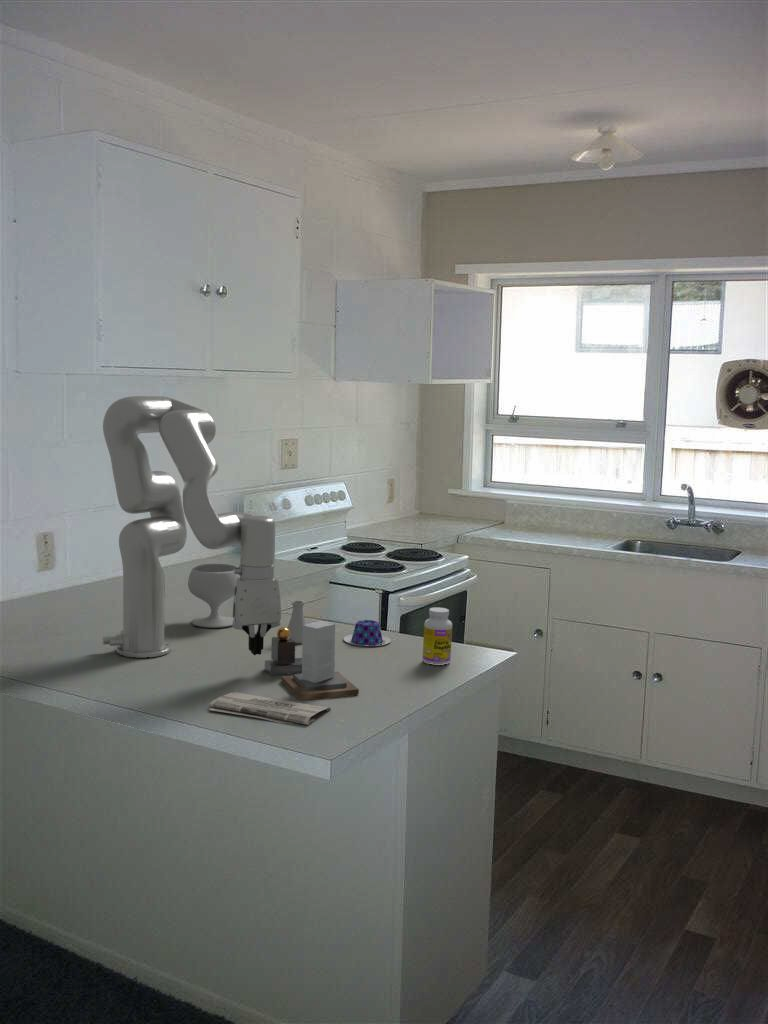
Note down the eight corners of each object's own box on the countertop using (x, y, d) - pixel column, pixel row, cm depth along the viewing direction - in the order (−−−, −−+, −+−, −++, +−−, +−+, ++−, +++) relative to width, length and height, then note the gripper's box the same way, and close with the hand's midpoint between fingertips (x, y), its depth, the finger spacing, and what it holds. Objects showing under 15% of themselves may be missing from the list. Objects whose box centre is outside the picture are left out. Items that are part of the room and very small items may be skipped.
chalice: (227, 615, 277) (228, 561, 275) (249, 626, 266) (250, 570, 264) (179, 620, 270) (179, 565, 268) (200, 632, 258) (200, 574, 256)
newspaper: (204, 714, 199) (204, 701, 199) (235, 702, 211) (236, 690, 211) (307, 732, 191) (308, 719, 191) (334, 719, 202) (334, 707, 202)
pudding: (333, 641, 255) (334, 621, 254) (365, 633, 264) (366, 614, 263) (368, 651, 247) (369, 630, 247) (400, 642, 256) (401, 622, 256)
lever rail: (270, 675, 224) (270, 666, 224) (264, 669, 229) (264, 660, 228) (334, 670, 230) (334, 661, 230) (327, 664, 234) (327, 655, 234)
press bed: (299, 700, 208) (300, 690, 208) (281, 681, 220) (281, 672, 220) (358, 694, 213) (358, 685, 213) (337, 676, 225) (338, 667, 225)
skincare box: (320, 673, 220) (321, 620, 218) (334, 677, 217) (336, 623, 215) (300, 679, 215) (302, 624, 213) (315, 683, 212) (316, 628, 211)
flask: (307, 645, 250) (308, 606, 248) (278, 643, 251) (279, 603, 250) (314, 638, 257) (315, 600, 255) (287, 636, 258) (288, 597, 257)
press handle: (277, 664, 224) (278, 630, 223) (271, 658, 229) (271, 625, 228) (294, 663, 226) (295, 629, 225) (288, 657, 230) (288, 624, 229)
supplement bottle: (431, 667, 235) (433, 613, 233) (417, 660, 240) (419, 607, 239) (455, 664, 238) (458, 611, 236) (441, 657, 244) (443, 605, 242)
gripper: (227, 577, 216) (226, 660, 218) (294, 574, 221) (293, 655, 224) (219, 570, 223) (218, 651, 225) (285, 567, 228) (283, 646, 231)
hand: (255, 653), depth 225 cm, fingers closed
